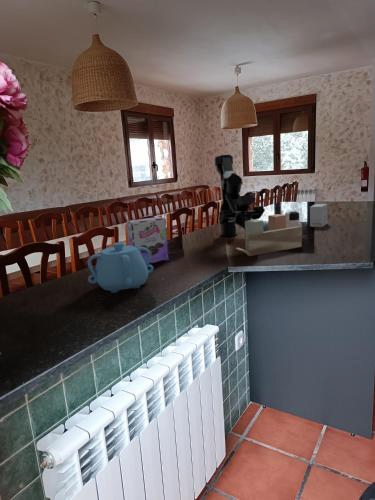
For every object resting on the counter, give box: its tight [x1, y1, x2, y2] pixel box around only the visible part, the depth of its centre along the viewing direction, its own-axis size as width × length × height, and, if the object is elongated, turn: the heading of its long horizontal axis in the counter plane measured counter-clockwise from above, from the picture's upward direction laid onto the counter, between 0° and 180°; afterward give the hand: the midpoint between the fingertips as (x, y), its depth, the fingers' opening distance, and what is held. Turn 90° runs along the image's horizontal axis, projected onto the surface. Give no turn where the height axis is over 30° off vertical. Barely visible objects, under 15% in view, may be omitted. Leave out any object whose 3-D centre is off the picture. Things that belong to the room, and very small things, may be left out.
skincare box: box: [309, 203, 328, 228], centre depth 180 cm, size 10×6×10 cm, turn 145°
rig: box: [235, 226, 303, 257], centre depth 140 cm, size 12×24×8 cm, turn 112°
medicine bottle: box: [284, 210, 303, 228], centre depth 153 cm, size 7×7×12 cm
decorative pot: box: [87, 241, 154, 294], centre depth 106 cm, size 16×16×14 cm
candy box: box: [126, 216, 170, 265], centre depth 131 cm, size 14×6×16 cm, turn 117°
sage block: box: [244, 219, 264, 251], centre depth 136 cm, size 5×5×12 cm
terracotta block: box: [267, 213, 286, 231], centre depth 145 cm, size 5×5×12 cm
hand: (250, 231), depth 138 cm, fingers closed, pressing on sage block
